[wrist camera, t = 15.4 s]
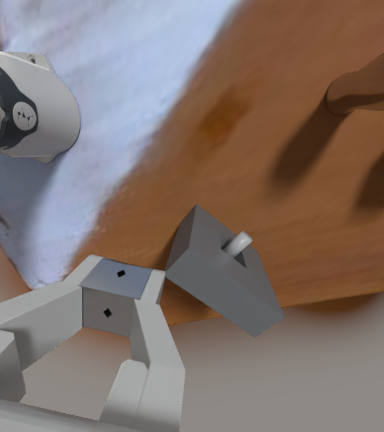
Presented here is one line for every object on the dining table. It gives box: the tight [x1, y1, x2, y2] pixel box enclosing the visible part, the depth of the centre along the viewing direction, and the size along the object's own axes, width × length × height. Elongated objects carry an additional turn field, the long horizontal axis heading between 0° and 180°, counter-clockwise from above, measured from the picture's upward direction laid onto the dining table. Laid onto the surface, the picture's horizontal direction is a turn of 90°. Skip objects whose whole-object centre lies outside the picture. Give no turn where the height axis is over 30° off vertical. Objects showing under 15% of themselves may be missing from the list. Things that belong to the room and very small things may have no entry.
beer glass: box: [326, 53, 384, 115], centre depth 26 cm, size 7×7×15 cm
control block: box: [164, 204, 284, 337], centre depth 37 cm, size 6×18×18 cm, turn 51°
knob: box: [223, 231, 253, 258], centre depth 36 cm, size 11×5×5 cm, turn 141°
